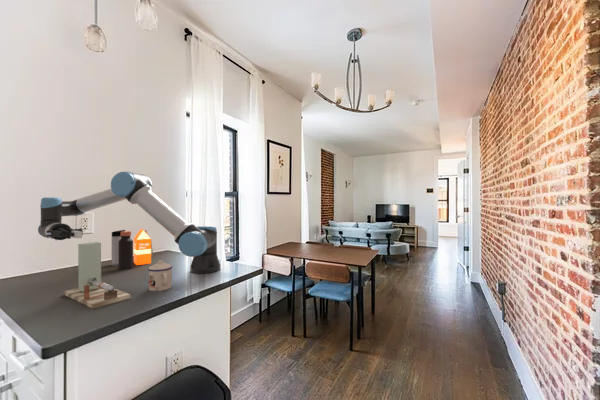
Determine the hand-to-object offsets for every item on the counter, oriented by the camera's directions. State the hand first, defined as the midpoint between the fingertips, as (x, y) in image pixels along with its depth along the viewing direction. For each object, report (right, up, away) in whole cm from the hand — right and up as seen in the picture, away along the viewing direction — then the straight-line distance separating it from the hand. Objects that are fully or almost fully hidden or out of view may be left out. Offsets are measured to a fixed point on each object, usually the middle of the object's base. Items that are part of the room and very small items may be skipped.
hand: (79, 234), depth 116 cm
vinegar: (-4, -23, +37) cm, 43 cm away
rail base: (+13, -23, -8) cm, 28 cm away
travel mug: (-13, -23, +45) cm, 52 cm away
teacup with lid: (+34, -23, +1) cm, 41 cm away
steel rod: (+13, -19, -8) cm, 24 cm away
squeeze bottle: (-7, -23, +63) cm, 67 cm away
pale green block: (+8, -21, -5) cm, 23 cm away
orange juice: (-2, -23, +49) cm, 55 cm away
